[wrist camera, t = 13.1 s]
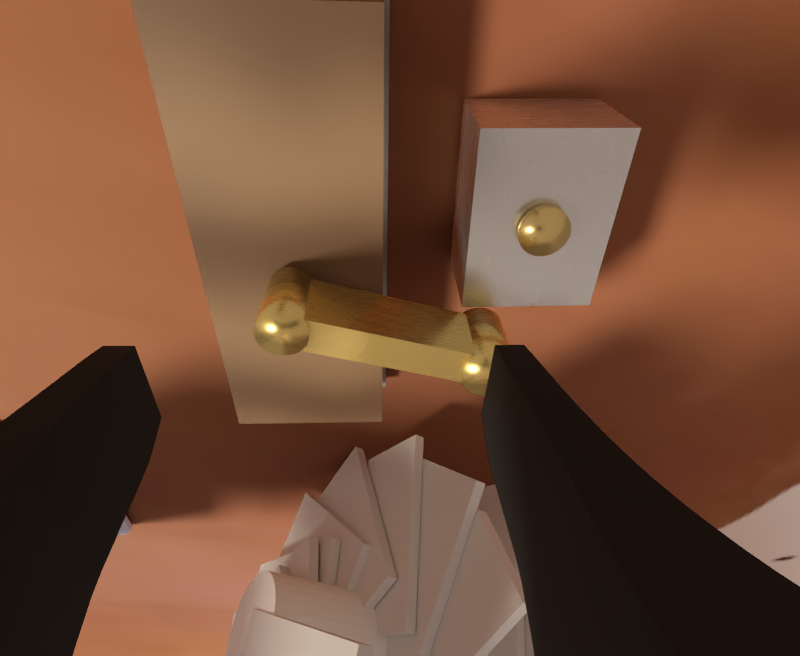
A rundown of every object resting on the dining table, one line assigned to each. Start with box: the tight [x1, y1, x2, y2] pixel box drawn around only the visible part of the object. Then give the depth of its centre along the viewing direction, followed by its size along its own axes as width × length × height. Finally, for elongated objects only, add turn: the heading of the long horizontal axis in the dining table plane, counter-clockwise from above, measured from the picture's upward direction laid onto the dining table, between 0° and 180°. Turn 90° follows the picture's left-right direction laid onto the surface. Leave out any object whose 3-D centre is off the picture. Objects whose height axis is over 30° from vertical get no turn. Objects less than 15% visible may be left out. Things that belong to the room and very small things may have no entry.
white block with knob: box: [451, 98, 641, 307], centre depth 17 cm, size 6×4×4 cm
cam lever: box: [253, 267, 509, 396], centre depth 16 cm, size 8×2×2 cm, turn 73°
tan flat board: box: [130, 0, 390, 424], centre depth 18 cm, size 16×6×3 cm, turn 179°
